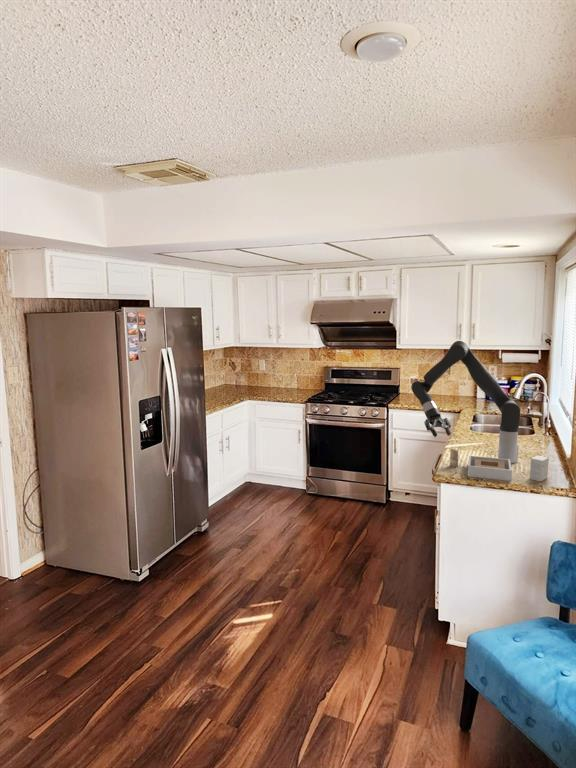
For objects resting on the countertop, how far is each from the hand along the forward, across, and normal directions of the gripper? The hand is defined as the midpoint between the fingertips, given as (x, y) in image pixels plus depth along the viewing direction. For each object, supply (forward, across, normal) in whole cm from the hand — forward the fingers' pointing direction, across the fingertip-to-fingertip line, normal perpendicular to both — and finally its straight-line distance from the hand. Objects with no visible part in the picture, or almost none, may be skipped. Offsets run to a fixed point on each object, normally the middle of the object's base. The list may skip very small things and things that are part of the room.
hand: (442, 435), depth 281 cm
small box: (+39, +27, -18) cm, 51 cm away
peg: (+18, 0, +3) cm, 18 cm away
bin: (+28, +10, -8) cm, 31 cm away
